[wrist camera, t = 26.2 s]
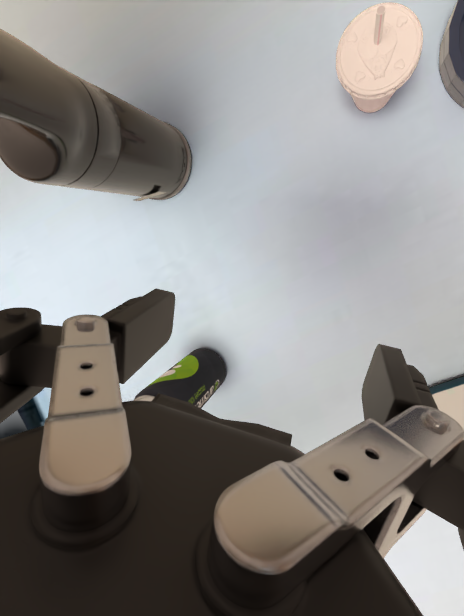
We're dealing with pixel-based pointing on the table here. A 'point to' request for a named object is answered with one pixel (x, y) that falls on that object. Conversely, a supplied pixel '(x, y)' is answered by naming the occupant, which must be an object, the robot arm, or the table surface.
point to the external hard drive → (450, 398)
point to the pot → (453, 55)
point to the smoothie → (378, 54)
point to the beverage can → (189, 379)
